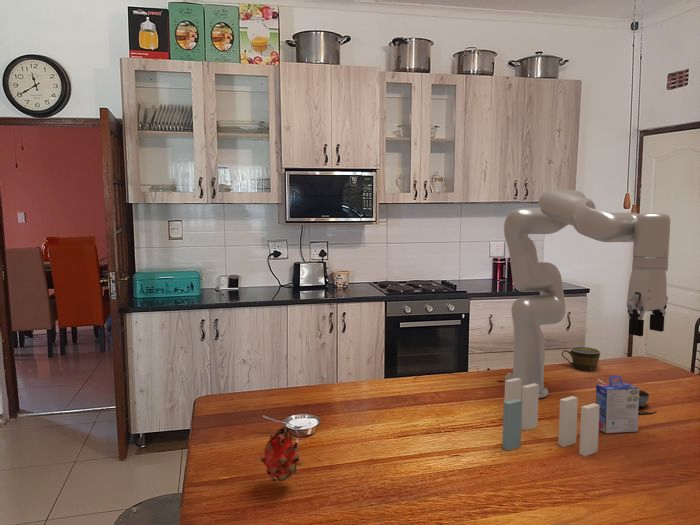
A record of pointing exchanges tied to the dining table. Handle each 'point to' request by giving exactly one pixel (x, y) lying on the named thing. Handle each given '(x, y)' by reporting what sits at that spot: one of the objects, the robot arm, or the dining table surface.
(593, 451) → the domino
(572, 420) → the domino
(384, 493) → the dining table surface
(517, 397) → the domino
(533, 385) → the domino
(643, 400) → the soup bowl
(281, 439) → the dragon fruit
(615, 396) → the ink cartridge box
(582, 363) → the ceramic cup
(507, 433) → the domino
